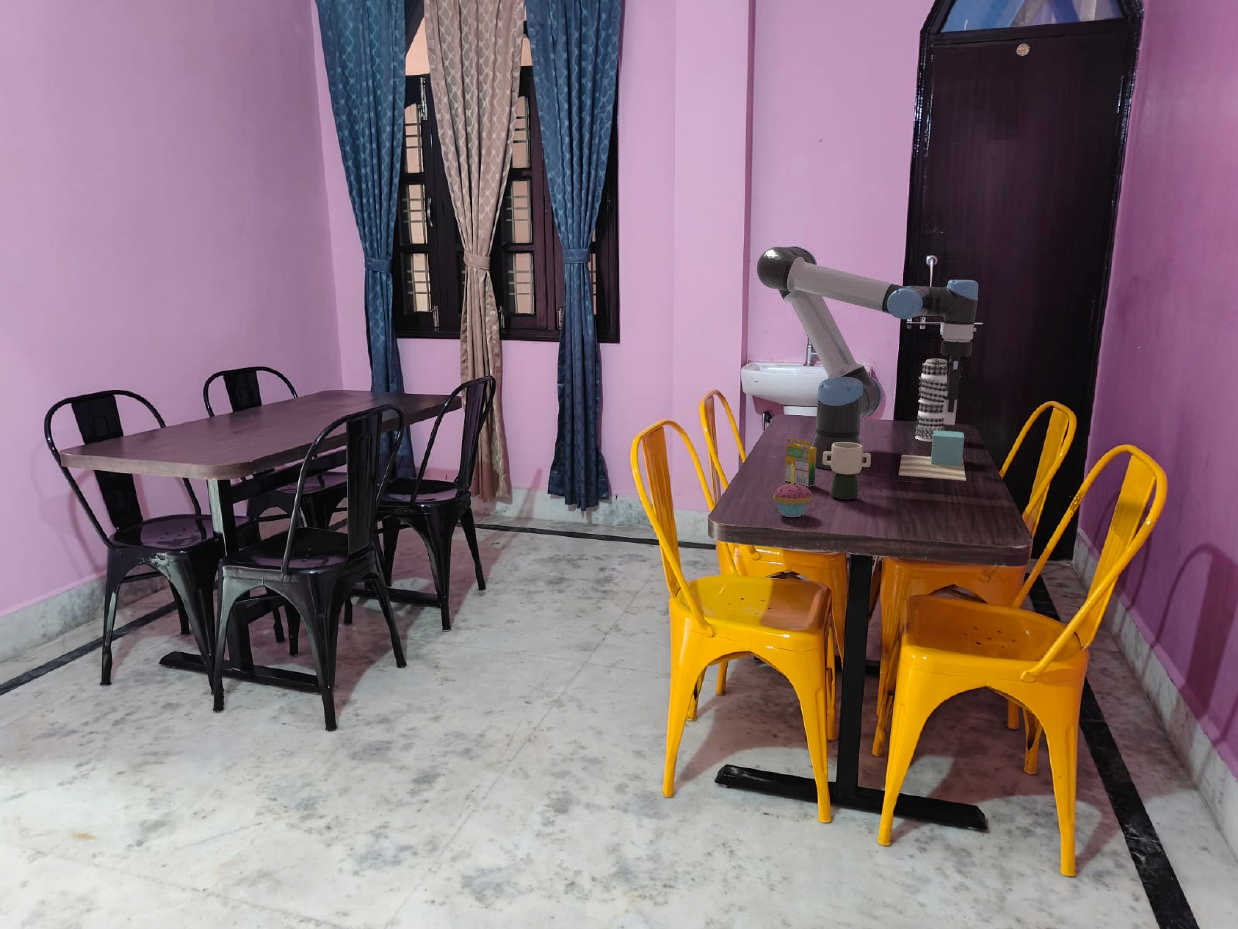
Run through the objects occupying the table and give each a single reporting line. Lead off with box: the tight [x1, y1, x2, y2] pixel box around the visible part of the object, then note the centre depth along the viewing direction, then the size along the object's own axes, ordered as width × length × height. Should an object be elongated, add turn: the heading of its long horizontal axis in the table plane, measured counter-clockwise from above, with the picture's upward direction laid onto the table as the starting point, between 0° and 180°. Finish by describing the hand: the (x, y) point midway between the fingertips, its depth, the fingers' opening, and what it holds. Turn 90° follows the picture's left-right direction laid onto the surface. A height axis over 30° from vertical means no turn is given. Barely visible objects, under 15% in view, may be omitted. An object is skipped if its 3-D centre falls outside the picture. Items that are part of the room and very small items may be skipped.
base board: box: [898, 454, 967, 481], centre depth 224 cm, size 24×16×2 cm, turn 160°
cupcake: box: [772, 461, 813, 516], centre depth 186 cm, size 9×8×12 cm
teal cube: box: [930, 430, 965, 466], centre depth 228 cm, size 8×8×8 cm
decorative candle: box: [914, 358, 948, 443], centre depth 263 cm, size 9×9×25 cm
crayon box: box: [784, 437, 817, 487], centre depth 212 cm, size 7×3×12 cm, turn 41°
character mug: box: [823, 442, 872, 500], centre depth 199 cm, size 11×7×13 cm, turn 77°
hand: (948, 419), depth 227 cm, fingers open, 13 cm apart
